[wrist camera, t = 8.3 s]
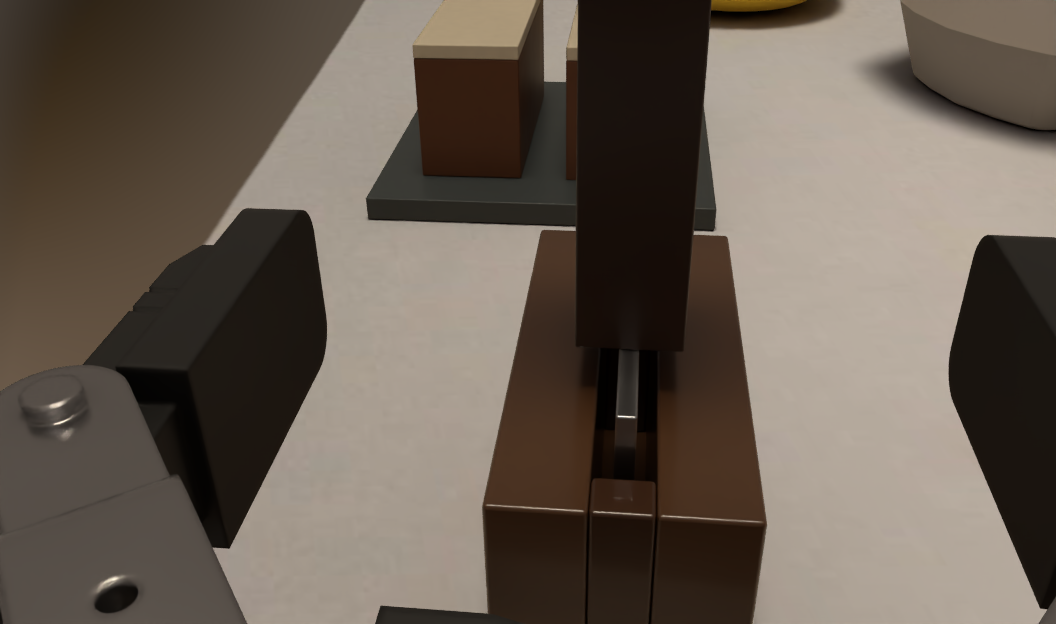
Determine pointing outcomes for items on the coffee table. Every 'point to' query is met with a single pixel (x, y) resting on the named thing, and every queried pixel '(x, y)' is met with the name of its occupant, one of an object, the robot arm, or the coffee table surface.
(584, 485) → the knife block
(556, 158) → the cake board
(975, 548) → the coffee table surface
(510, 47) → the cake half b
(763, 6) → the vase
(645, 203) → the knife
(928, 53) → the bowl
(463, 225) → the coffee table surface
